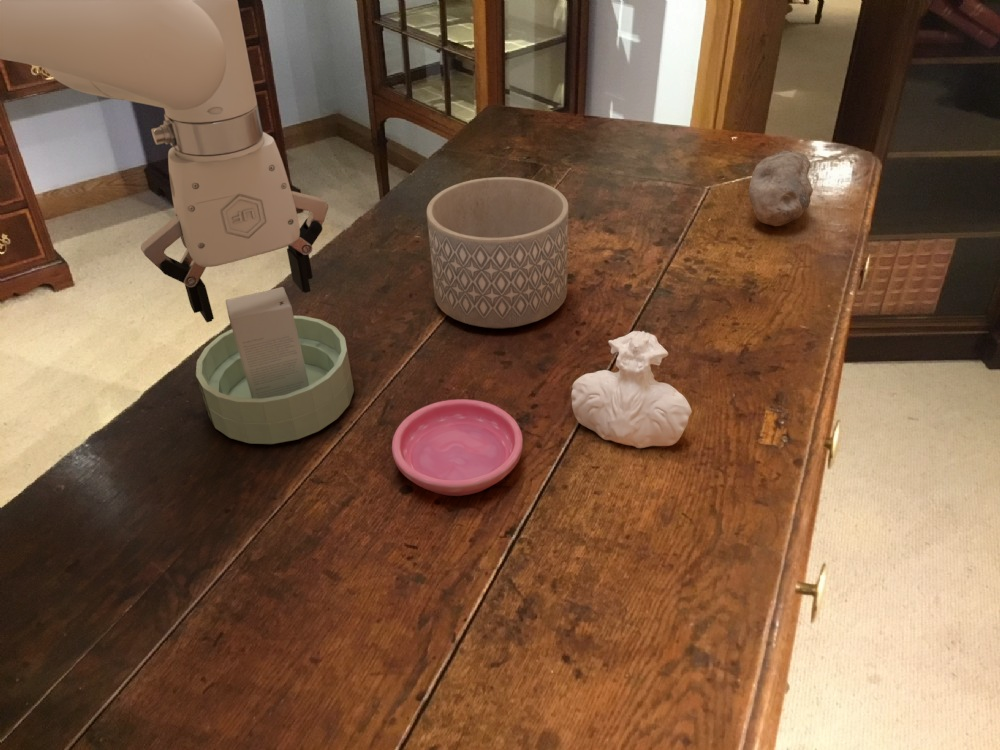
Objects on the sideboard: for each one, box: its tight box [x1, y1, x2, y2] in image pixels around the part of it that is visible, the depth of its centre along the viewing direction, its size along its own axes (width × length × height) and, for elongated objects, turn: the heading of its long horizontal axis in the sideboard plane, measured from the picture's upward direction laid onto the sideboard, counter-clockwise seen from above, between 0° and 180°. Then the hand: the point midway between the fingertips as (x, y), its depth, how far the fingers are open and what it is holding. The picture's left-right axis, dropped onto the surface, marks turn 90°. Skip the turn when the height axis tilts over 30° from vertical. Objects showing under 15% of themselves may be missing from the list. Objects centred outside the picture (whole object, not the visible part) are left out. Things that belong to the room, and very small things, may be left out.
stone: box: [747, 150, 814, 227], centre depth 119 cm, size 9×14×10 cm, turn 150°
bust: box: [570, 330, 693, 449], centre depth 84 cm, size 12×8×11 cm
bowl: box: [195, 315, 355, 445], centre depth 90 cm, size 15×15×6 cm
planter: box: [426, 176, 569, 330], centre depth 102 cm, size 16×16×13 cm
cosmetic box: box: [225, 286, 309, 399], centre depth 87 cm, size 6×4×12 cm
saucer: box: [391, 398, 524, 497], centre depth 82 cm, size 12×12×3 cm
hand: (255, 300), depth 83 cm, fingers open, 9 cm apart
